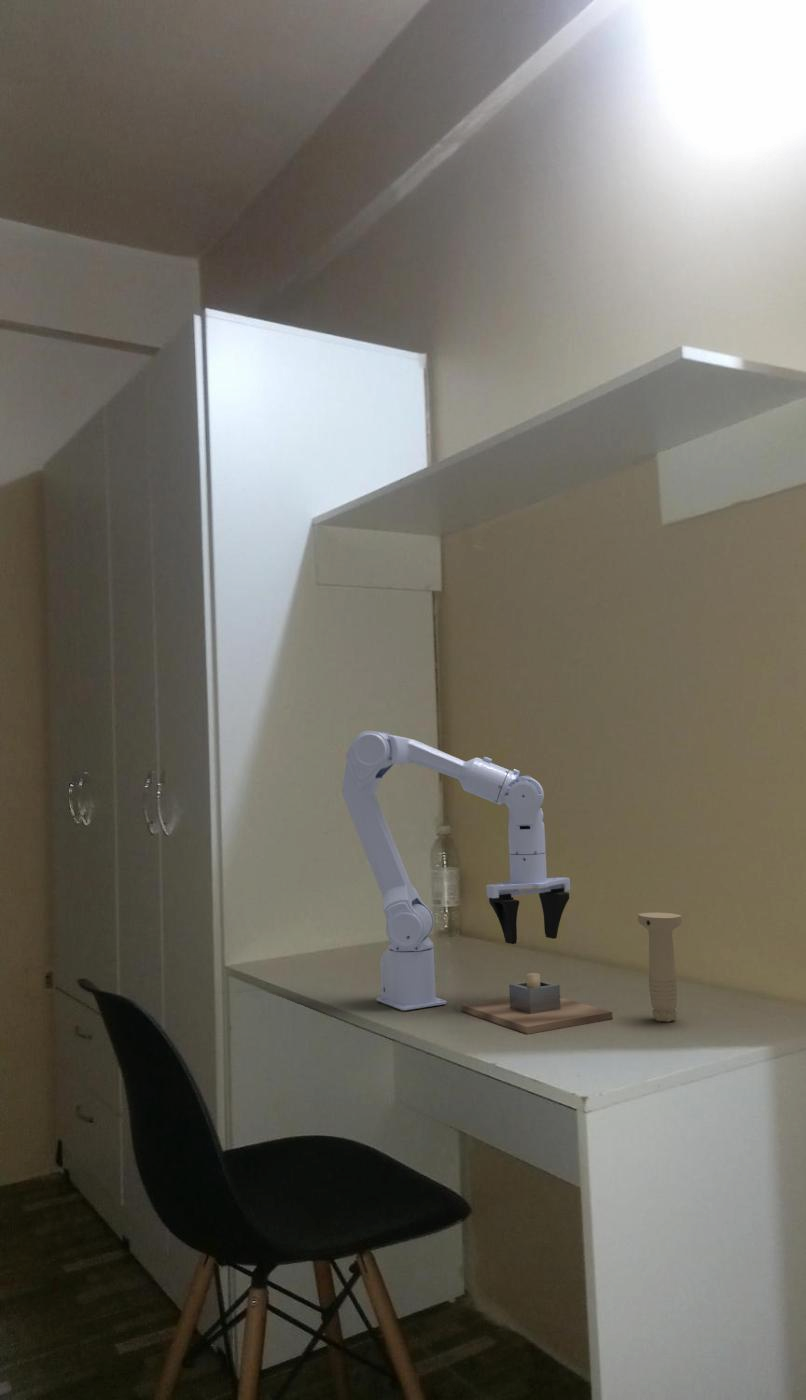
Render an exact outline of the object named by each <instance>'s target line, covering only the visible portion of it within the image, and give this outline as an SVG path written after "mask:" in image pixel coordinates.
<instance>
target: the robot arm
mask: <svg viewBox="0 0 806 1400" xmlns="http://www.w3.org/2000/svg"><path fill="white" fill-rule="evenodd" d="M492 762H493V759H492V758H489V757H487V756H484V757H482V758H480V757H474V758H472V759H469V760H467V761H465V760H463V759H461V758H458V757H456V756H453V755H452V754H448V753H446V752H444V751H442V750H439V749H437V748H434V747H432V746H430V745H428V744H425V743H423V742H421V741H419V740H416V739H412V738H409V737H404V736H401V735H400V736H399V735H393V734H390V733H388V732H385V731H375V730H366V731H363V732H360V733H359V734H358V735H356V736H355V738H354V739H353V740H352V742H351V744H350V745H349V748H348V749H347V751H346V753H345V770H344V774H343V775H344V776H343V779H342V780H343V782H342V788H341V793H342V794H341V795H342V797H343V800H344V803H345V804H346V807H347V810H348V813H349V815H350V817H351V819H352V823H353V824H354V828H355V831H356V832H357V835H358V838H359V840H360V842H361V845H362V848H363V850H364V853H365V856H366V858H367V860H368V863H369V866H370V868H371V871H372V872H373V875H374V877H375V878H374V879H375V881H376V883H377V886H378V888H379V891H380V893H381V896H382V897H381V898H382V909H383V912H384V915H385V919H386V920H385V921H386V924H385V933H386V936H387V938H388V940H389V942H390V943H389V944H388V947H387V948H386V949H385V950H384V951H383V953H382V955H381V957H380V962H379V963H380V965H379V967H380V991H381V996H378V997H377V998H376V1002H380V1003H382V1004H383V1005H386V1006H390V1007H392V1008H395V1009H398V1010H400V1011H410V1010H416V1009H422V1008H423V1009H424V1008H429V1007H430V1008H431V1007H434V1006H441V1005H447V1000H445V999H441V998H438V997H437V995H436V976H435V974H436V973H435V947H434V943H433V941H432V940H431V939H430V937H429V935H430V934H431V933H432V932H433V929H434V926H435V919H434V914H433V912H432V910H431V909H430V908H429V907H428V906H427V905H426V904H425V903H424V902H423V901H422V898H421V897H420V895H419V892H418V891H417V890H416V889H415V887H414V886H413V884H412V882H411V880H410V878H409V875H408V872H407V871H406V868H405V866H404V863H403V861H402V858H401V854H400V853H399V851H398V848H397V846H396V843H395V841H394V838H393V835H392V832H391V831H390V828H389V825H388V822H387V820H386V818H385V815H384V813H383V810H382V808H381V806H380V803H379V800H378V798H377V796H376V791H377V790H378V787H380V784H381V782H382V780H383V778H384V776H385V774H387V772H389V771H390V769H391V768H393V766H394V765H405V764H415V765H418V766H420V767H423V768H426V769H429V770H431V771H434V772H437V773H440V774H443V775H445V776H448V777H451V778H454V779H455V780H456V779H457V780H458V781H459V783H460V785H461V788H462V789H463V791H464V792H466V793H469V794H472V795H473V796H476V797H479V798H481V799H484V800H487V801H489V802H491V803H494V804H497V805H499V806H500V805H501V806H502V804H505V805H506V807H507V808H508V816H509V817H508V822H509V823H508V825H507V827H508V828H507V829H508V830H507V831H508V851H509V854H508V856H509V875H510V876H509V877H510V880H509V881H504V882H499V883H498V882H497V883H492V884H491V883H490V884H486V898H488V901H489V904H490V906H491V907H492V909H493V911H494V912H495V915H496V917H497V919H498V921H499V924H500V927H501V930H502V933H503V938H504V941H505V943H506V944H510V945H515V944H517V940H518V932H517V931H518V928H517V920H518V911H519V906H520V900H519V899H518V900H517V899H514V896H521V895H529V894H538V896H539V900H540V903H541V908H542V913H543V924H544V926H543V927H544V929H543V930H544V934H545V938H549V939H557V937H558V932H559V928H560V922H561V920H562V919H561V918H562V915H563V912H564V911H565V908H566V905H567V904H568V901H570V900H569V899H570V893H569V892H567V891H570V890H571V881H570V880H571V879H570V877H564V876H563V877H562V876H561V877H560V876H559V877H547V875H548V874H547V872H548V871H547V856H546V854H547V853H546V851H547V850H546V833H545V832H546V831H545V823H544V821H543V820H544V812H543V808H542V807H541V806H542V804H543V802H544V798H545V792H544V789H543V786H542V785H541V784H540V782H539V781H537V780H536V779H535V778H533V777H532V776H531V775H522V776H520V772H521V771H520V770H518V769H515V768H513V770H510V769H507V768H505V767H502V766H500V765H498V764H496V763H492ZM512 896H513V897H512Z"/></svg>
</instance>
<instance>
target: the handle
mask: <svg viewBox="0 0 806 1400" xmlns="http://www.w3.org/2000/svg"><path fill="white" fill-rule="evenodd" d="M637 922H638V923H639V924H640V925H641V926H642V927H644V928H645V929H646V930H647V931H648V932H647V933H648V949H649V950H648V983H649V985H648V988H649V997H650V1003H651V1007H652V1008H653V1009H652V1010H651V1011H652V1015H653V1019H654V1020H655V1021H657V1022H666V1023H670V1022H673V1021H676V1020H677V1011H676V1008H677V1006H678V1005H677V1003H678V982H677V981H678V980H677V970H676V969H677V968H676V961H675V953H674V952H675V951H674V941H673V931H674V930H675V929H677V928H679V927H680V926H681V925H682V923H683V922H682V915H680V914H678V913H671V912H655V911H654V912H643V913H638V915H637Z"/></svg>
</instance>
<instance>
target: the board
mask: <svg viewBox="0 0 806 1400" xmlns="http://www.w3.org/2000/svg"><path fill="white" fill-rule="evenodd" d="M525 976H526V981H527V987H529V988H535V987H540V980H541V974H540V973H537V972H534V973H533V972H532V973H531V972H530V973H529V972H528V973H527V974H526V975H525ZM560 1007H561V1009H557V1010H551V1011H545V1012H539V1013H534V1014H529V1013H526V1012H523V1011H520V1010H516V1009H513V1008H510V996H508V997H507V996H506V997H501V998H494V999H487V1000H481V1001H475V1002H467V1003H461V1004H460V1011H461V1012H463V1013H466V1014H468V1015H471V1016H474V1017H477V1018H480V1019H483V1020H486V1021H488V1022H492V1023H494V1024H497V1025H500V1026H503V1027H506V1028H509V1029H512V1030H514V1031H518V1032H520V1033H522V1034H526V1035H529V1034H535V1033H542V1032H547V1031H551V1030H552V1031H553V1030H557V1029H563V1028H569V1027H574V1026H580V1025H581V1026H582V1025H584V1024H585V1025H586V1024H590V1023H598V1022H603V1021H607V1020H613V1012H612V1011H611V1010H607V1009H603V1008H600V1007H596V1006H593V1005H590V1004H589V1005H588V1004H586V1003H582V1002H578V1001H575V1000H572V999H567V998H564V997H561V996H560Z"/></svg>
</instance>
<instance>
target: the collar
mask: <svg viewBox="0 0 806 1400" xmlns="http://www.w3.org/2000/svg"><path fill="white" fill-rule="evenodd" d="M508 986H509V987H508V988H509V991H508V992H509V997H510V1008H513V1009H516V1010H520V1011H523V1012H526V1013H529V1014H534V1013H539V1012H545V1011H551V1010H557V1009H561V1007H560V997H561V988H560V987H561V986H560V984H557V983H553V982H548V981H545V980H542V979H540V987H535V988H529V987H527V980H525V981H521V982H514V983H509V984H508Z"/></svg>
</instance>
